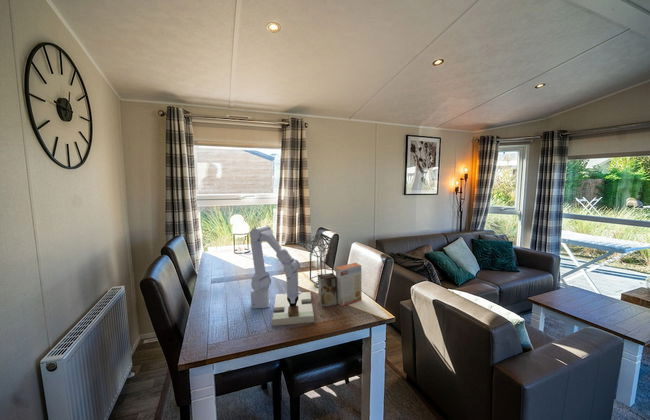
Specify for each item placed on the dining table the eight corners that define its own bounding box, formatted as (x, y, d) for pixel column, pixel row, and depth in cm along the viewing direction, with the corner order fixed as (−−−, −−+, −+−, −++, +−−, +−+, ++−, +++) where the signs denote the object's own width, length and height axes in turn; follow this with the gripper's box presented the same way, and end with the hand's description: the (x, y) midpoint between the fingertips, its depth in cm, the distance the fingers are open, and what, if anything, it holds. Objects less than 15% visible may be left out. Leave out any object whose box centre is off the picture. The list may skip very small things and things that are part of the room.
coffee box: (333, 299, 140) (333, 272, 138) (337, 304, 134) (337, 276, 132) (318, 301, 138) (317, 274, 136) (321, 307, 132) (320, 278, 130)
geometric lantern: (320, 293, 147) (317, 237, 143) (305, 285, 159) (302, 233, 155) (339, 286, 157) (337, 232, 153) (324, 279, 169) (322, 229, 165)
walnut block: (288, 318, 118) (288, 311, 117) (288, 313, 123) (288, 306, 122) (298, 317, 119) (298, 310, 118) (298, 312, 123) (298, 305, 123)
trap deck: (272, 325, 116) (271, 319, 115) (276, 297, 143) (275, 292, 143) (314, 322, 118) (314, 315, 118) (310, 295, 146) (310, 290, 145)
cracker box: (355, 296, 144) (355, 262, 141) (361, 300, 138) (362, 265, 136) (335, 302, 137) (335, 266, 134) (341, 307, 132) (341, 270, 129)
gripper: (300, 290, 116) (301, 317, 118) (300, 278, 130) (300, 302, 132) (285, 291, 115) (286, 318, 117) (286, 279, 130) (287, 303, 131)
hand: (293, 309), depth 125 cm, fingers closed
